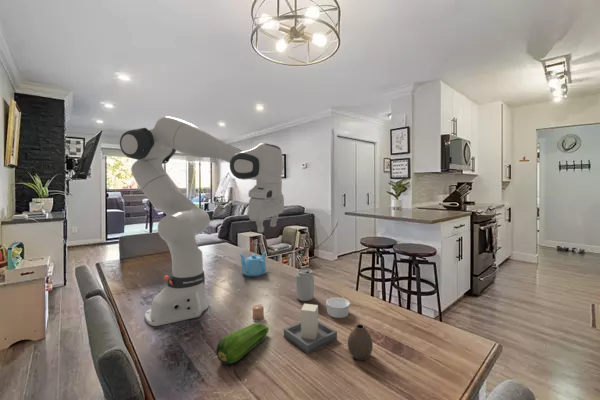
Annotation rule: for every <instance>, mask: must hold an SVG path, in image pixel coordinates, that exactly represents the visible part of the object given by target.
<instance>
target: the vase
mask: <svg viewBox="0 0 600 400" xmlns="http://www.w3.org/2000/svg"><path fill="white" fill-rule="evenodd" d="M373 346H374V345H373V339H372V336H371V335H370V333H369V331H368V330H367V329H366V327H365V325H363V324H356V325H355V327H354V328H353V329H352V330H351V332H350V334H349V335H348V338H347V348H348V351H349V353H350V355H351V356H352V357H353V358H354V359H355V360H358V361H364V360H367V359H368V358H369V357H371V354H372V351H373Z"/></svg>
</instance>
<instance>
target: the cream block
mask: <svg viewBox="0 0 600 400" xmlns="http://www.w3.org/2000/svg"><path fill="white" fill-rule="evenodd" d="M318 321H319V304H311V303H303V306H302V307H301V309H300V322H301V338H307V339H314V340H315V339H316V336H317V334H318Z"/></svg>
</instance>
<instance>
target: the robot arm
mask: <svg viewBox="0 0 600 400" xmlns="http://www.w3.org/2000/svg"><path fill="white" fill-rule="evenodd" d="M119 147H120V150H121V152H122V153H123V154H124V156H126V157H128V158H129V159H133V160H136V161H134V163H133V164H132V165H131V167H130V170H131V174H132V176H133V179H134V180H135V182H136V183H137V186H139V189H140V190H141V191H142V193H143V194H144V195H145V197H146V198H147V199H148V201H149V202H150V204H151V205H152V206H153V207H154V209H156V210H157V211H160V212H162V213H164V214H165V216H163V217H162V218H161V219H159V221H158V224H157V232H158V235H159V237H160V238H161V239H162V240H163V241H165V243H166V245H167V246H168V250H169V252H170V256H171V269H172V274H171V275H170V276H169V275H166V274H165V275H164V277H163V278H162V279H163V280H164V281H165V282H166V284H167V286H165V287H164V288H163V289H162V290H161V291H160V292H159V293H157V294H156V295H155V296H154V297H153V299H152V302H151V307H150V308H149V309H148V310H146V311H145V313H144V320H145V321H146V323H147V324H148V325H150V326H154V327H159V326H163V325H167V324H172V323H177V322H181V321H185V320H189V319H194V318H199V317H200V316H201V315H202V313H203V312H204V311H206V310H207V309H208V307H209V302H208V300H207V295H206V290H205V284H206V283H205V282H206V281H205V280H206V279H205V278H206V277H205V275H206V274H205V271H204V261H203V251H202V250H201V249H200V248H199V246H198V244H197V240H196V239H197V238H196V236H198V235H201V234H202V233H203V232H204V231H206V229H208V227H209V225H210V220H211V219H210V216H209V213H208V212H207V211H206V210H204V209H203V208H201V207H199V206H198V205H196V204H195V203H194V202H193V201H192V200H191V199H189V197H187V196H186V195H185V194H184V193H183V192H182V191H181V190H180V188H179V187H178V186H177V184H176V183H175V182H174V181H173V179H172V178H171V177H170V175H169V174H168V173H167V172H166V170H165V168H164V167H163V164H167V163H169V161H170V159H171V158H172V157H173V156H174V155H175V154H176V152H177V151H178V152H180V153H182V154H184V155H188V156H191V157H196V158H213V159H218V160H222V161H225V162H227V163H229V169H230V173H231V174H232V175H233V176H234V177H235V178H237V179H239V180H255V182H256V184H255V185H254V186H253V187H252V188H251V189H249V190H248V197H249V198H250V199H248V218H249V220H250V221H251V222H255V224H256V226H257V232H258V233H259V234H260V233H261V234H262V233H264V232H265V226H264V224H263V223H264V220H267V219H270V218H271V220H270V225H269V226H270V227H272V228H275V227H276V226H277V222H278V219H279V215H281V214H282V213H284V210H285V198H284V194H283V192H282V185H283V184H282V183H283V182H282V181H283V180H282V174H283V168H284V167H283V165H284V164H283V163H284V161H283V159H284V158H283V151H282V149H281V147H280V146H278V145H275V144H272V143H271V144H270V143H267V142H260V143H259V144H258V145H257V146H255V147H253V148H251V149H248V150H242V149H240V148H238V147H235V146H232V145H231V144H228V143H226V142H224V141H222V140H220V139H218V138H216V137H215V136H213V135H211V134H210V133H208V132H206V131H205V130H204V129H202V128H200V127H198V126H196V125H194V124H192V123H190V122H188V121H185V120H183V119H180V118H176V117H173V116H163V117H160V118H159V119H158V120H157V121H156V122H155V125H154V127H153V128H151V129H148V128H147V127H142V128H140V127H139V128H135V129H131V130H126V131H125V132H124V133H123V134H122V135H121V137H120V139H119Z"/></svg>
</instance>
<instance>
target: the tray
mask: <svg viewBox="0 0 600 400" xmlns="http://www.w3.org/2000/svg"><path fill="white" fill-rule="evenodd" d="M283 337H284V338H285V339H286V340H288V341H289V342H291V343H292V344H293V345H294V346H295V347H297V348H299V350H301V351H303V352H304V353H306V354H307V355H309V354H311V353H314V352H315V351H317V350H319V349H321V348H322V347H325V346H326V345H329V344H331V343H333V342H334V341H336V340H338V331H336V330H334V328H331V327H330V326H328V325H327V324H324V323H323V322H321V321H319V320H318V334H317V336H316V339H315V340H314V339H307V338H301V321H300V322H297V323H295V324H293V325H290V326H287V327H286V328H283Z"/></svg>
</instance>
